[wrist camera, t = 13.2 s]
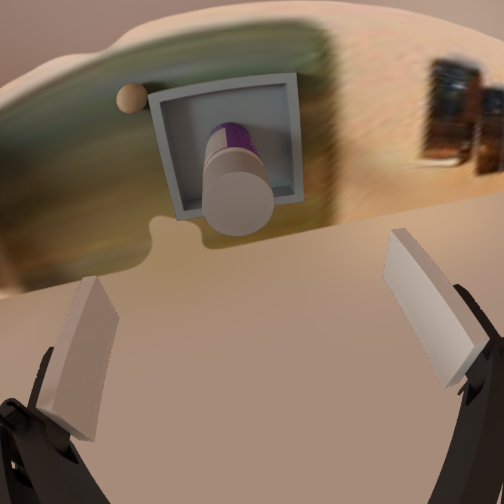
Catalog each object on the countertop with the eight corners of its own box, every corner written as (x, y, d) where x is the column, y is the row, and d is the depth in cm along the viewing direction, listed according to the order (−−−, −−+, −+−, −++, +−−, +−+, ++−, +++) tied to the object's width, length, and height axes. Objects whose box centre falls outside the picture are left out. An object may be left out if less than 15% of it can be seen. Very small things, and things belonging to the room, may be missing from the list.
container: (260, 141, 31) (292, 202, 19) (230, 171, 32) (241, 250, 20) (227, 112, 29) (236, 153, 16) (197, 145, 30) (184, 210, 18)
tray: (180, 207, 35) (177, 220, 32) (154, 91, 27) (147, 94, 24) (297, 190, 35) (304, 201, 33) (289, 71, 27) (296, 72, 24)
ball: (125, 114, 28) (116, 119, 25) (119, 86, 26) (109, 89, 23) (153, 106, 28) (146, 111, 25) (147, 78, 26) (140, 80, 23)
